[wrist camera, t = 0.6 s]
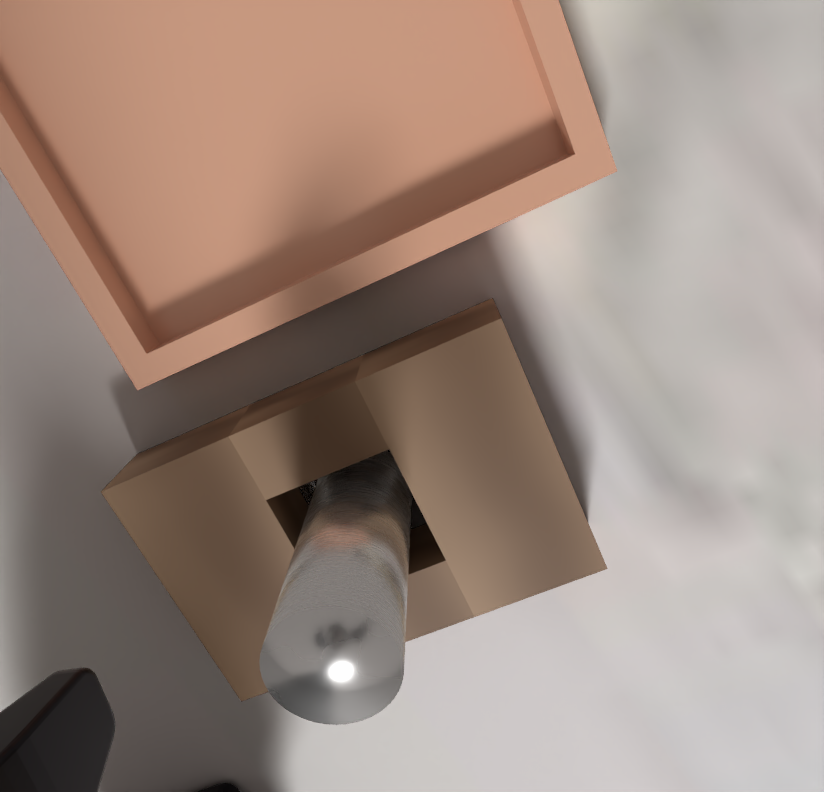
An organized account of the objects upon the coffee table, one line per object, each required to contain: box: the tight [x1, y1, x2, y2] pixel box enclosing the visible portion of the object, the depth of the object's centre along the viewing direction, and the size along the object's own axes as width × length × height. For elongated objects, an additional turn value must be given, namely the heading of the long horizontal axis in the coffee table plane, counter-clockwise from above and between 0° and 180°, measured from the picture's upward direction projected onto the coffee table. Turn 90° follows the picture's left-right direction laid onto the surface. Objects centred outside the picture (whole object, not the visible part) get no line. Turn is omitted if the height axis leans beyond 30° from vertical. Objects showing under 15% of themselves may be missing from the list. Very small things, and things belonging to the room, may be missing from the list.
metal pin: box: [259, 451, 412, 725], centre depth 18 cm, size 3×3×8 cm
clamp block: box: [101, 298, 607, 701], centre depth 21 cm, size 12×8×2 cm, turn 115°
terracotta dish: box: [0, 0, 617, 390], centre depth 17 cm, size 14×14×2 cm
